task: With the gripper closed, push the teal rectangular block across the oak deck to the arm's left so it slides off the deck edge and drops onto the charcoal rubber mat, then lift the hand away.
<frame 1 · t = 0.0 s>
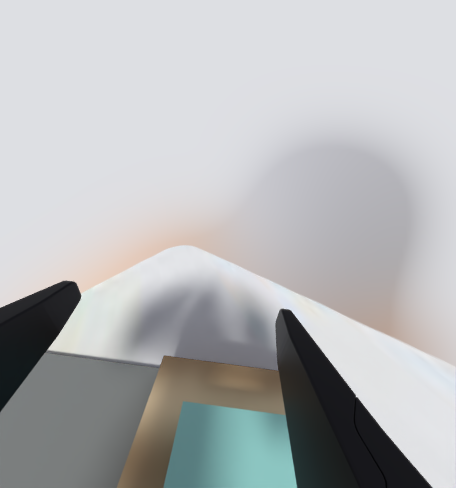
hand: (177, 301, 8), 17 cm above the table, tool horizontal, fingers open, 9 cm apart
teal rectangular block: (239, 480, 12), point 4 cm above the table, touching deck
mat: (39, 464, 15), on the table
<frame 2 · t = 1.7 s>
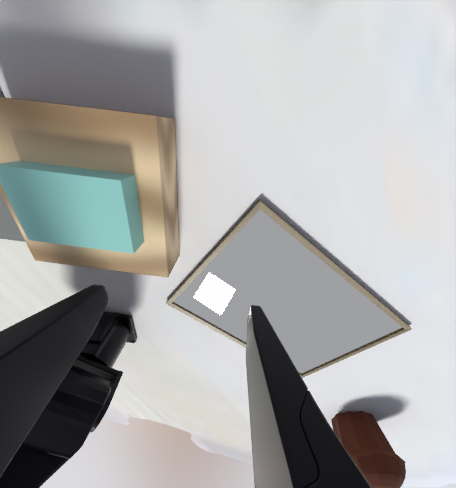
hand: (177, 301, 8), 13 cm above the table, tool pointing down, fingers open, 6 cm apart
muffin: (352, 418, 43), on the table
teal rectangular block: (87, 204, 16), point 4 cm above the table, touching deck
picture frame: (285, 309, 28), on the table
deck: (110, 191, 20), on the table
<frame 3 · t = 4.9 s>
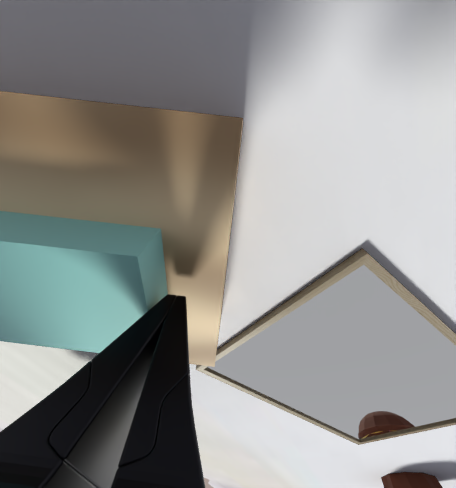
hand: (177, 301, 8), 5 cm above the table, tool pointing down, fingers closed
muffin: (407, 476, 36), on the table
teal rectangular block: (75, 273, 9), point 4 cm above the table, touching deck, gripper
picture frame: (355, 375, 21), on the table
deck: (124, 234, 13), on the table
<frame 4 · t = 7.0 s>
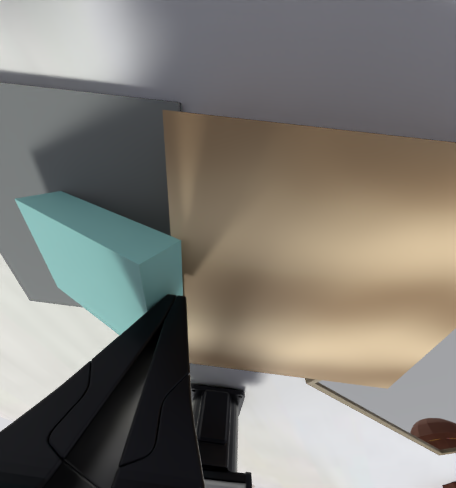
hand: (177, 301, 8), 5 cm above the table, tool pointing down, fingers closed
teal rectangular block: (121, 260, 11), point 2 cm above the table, tilted 25°, touching gripper
mat: (84, 229, 13), on the table
deck: (297, 255, 13), on the table
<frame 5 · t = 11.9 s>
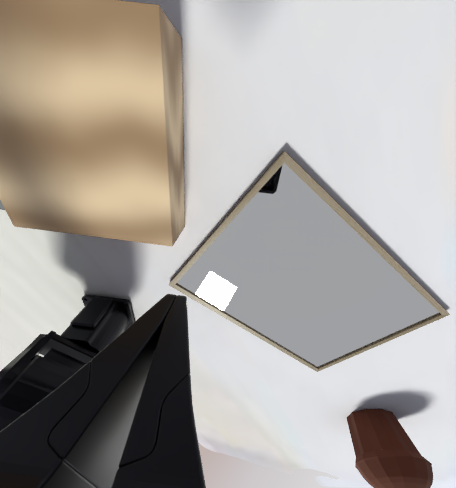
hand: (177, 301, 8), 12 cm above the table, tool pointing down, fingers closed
muffin: (370, 416, 40), on the table
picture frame: (304, 292, 24), on the table
deck: (103, 143, 17), on the table
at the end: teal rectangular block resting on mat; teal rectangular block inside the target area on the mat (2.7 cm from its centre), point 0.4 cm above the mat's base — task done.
